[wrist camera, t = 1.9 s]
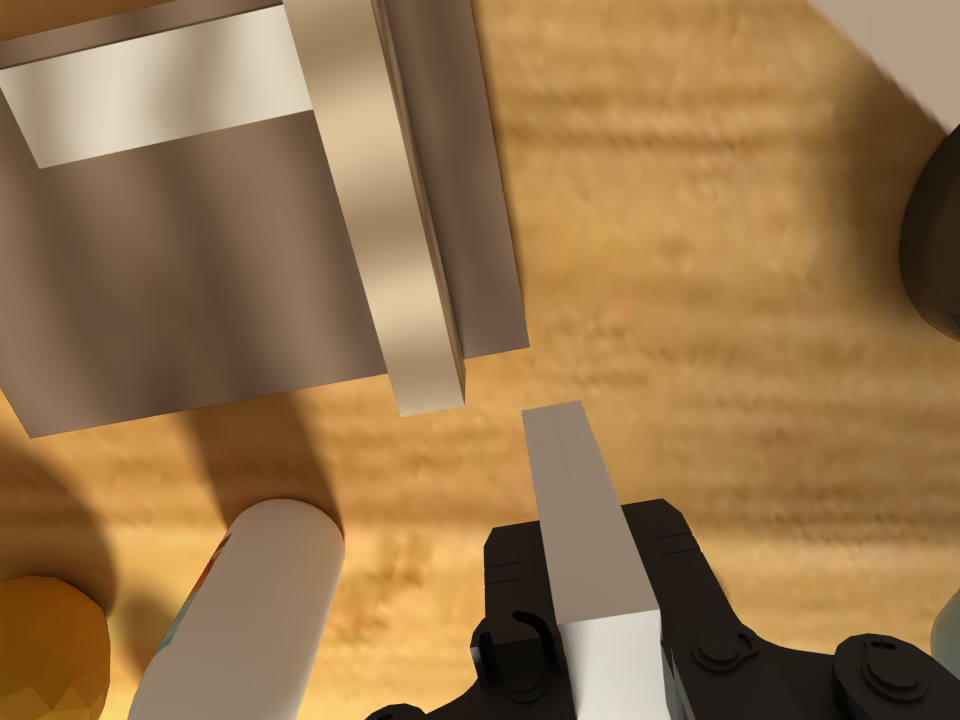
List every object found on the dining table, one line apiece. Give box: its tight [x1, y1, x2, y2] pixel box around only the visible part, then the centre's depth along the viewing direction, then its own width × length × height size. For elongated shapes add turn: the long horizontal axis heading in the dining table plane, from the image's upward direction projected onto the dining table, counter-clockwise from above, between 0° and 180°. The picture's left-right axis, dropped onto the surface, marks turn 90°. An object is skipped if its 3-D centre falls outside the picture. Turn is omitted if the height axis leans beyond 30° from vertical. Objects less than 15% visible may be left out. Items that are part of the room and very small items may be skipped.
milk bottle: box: [127, 499, 345, 720], centre depth 29 cm, size 8×8×20 cm
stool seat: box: [0, 0, 530, 439], centre depth 28 cm, size 28×18×3 cm, turn 101°
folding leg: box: [282, 0, 466, 417], centre depth 25 cm, size 17×3×4 cm, turn 11°
